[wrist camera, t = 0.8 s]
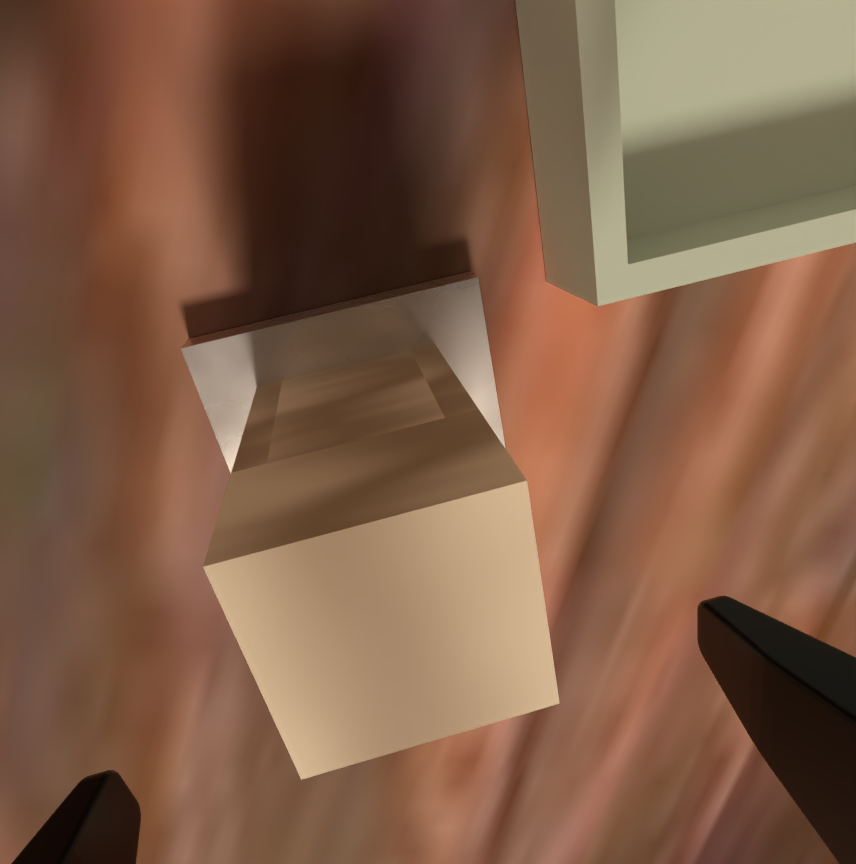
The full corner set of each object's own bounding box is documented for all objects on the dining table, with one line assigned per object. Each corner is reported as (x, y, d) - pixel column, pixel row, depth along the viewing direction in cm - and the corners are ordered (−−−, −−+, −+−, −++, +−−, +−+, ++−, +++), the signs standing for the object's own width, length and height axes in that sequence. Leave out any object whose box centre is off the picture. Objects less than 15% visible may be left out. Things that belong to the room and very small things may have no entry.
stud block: (469, 271, 17) (530, 311, 12) (508, 505, 20) (567, 610, 15) (188, 338, 16) (132, 409, 11) (278, 567, 19) (263, 696, 15)
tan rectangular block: (434, 343, 16) (527, 480, 9) (465, 494, 18) (559, 703, 11) (256, 387, 16) (202, 566, 9) (309, 536, 18) (301, 779, 11)
